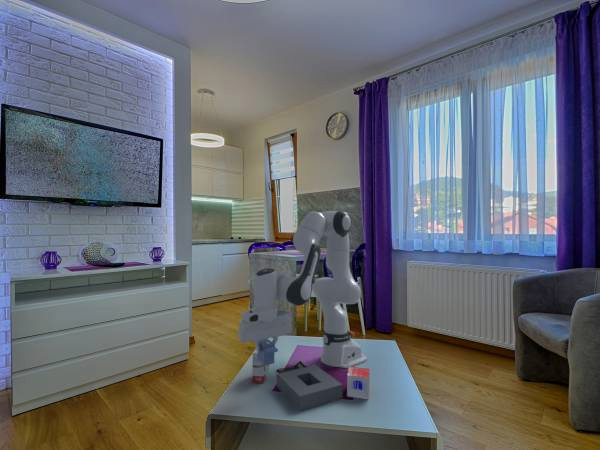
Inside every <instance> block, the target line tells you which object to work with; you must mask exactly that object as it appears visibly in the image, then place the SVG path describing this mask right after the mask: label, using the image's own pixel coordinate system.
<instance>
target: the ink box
mask: <svg viewBox="0 0 600 450" xmlns="http://www.w3.org/2000/svg"><path fill="white" fill-rule="evenodd" d="M251 369H252V373H251V374H252V375H251V376H252V379H251V382H252V383H258V384H263V383H264V382H265V381H266V380H267V378H268V377H269V375H270V365H265V366H264V365H263V364H262V363H261V362H260V361H259V360H258V359H257V351H256V349H255V350H253V352H252V368H251Z"/></svg>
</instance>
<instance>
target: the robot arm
mask: <svg viewBox="0 0 600 450" xmlns="http://www.w3.org/2000/svg"><path fill="white" fill-rule="evenodd" d="M351 227H352V218H351V215H349V213H348V212H346V211H343V210H337V211H336V210H326V211H321V212H318V211H310V212H308V213H307V214H306V215H305V217H303V219H302V220H301V222H300V224H299V225H298V227H297V229H296V231H295V232H294V235H293V238H292V243H293V245H294V248H295V249H296V250H297V251H298V253H300V254H302V255H303V256H304V261H303V263H302V266H301V270H300V273H299V274H298V276H295V277H293V276H288V275H284V274H281V273H280V272H278V271H276V269H274V268H263V269H260V270H259V271H257V272H256V273H255V277H254V282H253V295H254V296H253V297H254V302H253V306H252V308H250V309H248V310H246V311H243V312H241V314H240V316H241V319H242V320H240V322H239V325H238V326H239V327H238V337H237V338H238V339H239V341H240V342H241V343H243V344H244V343H250V342H251V343H252V342H253V343H254V345H255V350H256V351H257V352H260V351H262V350H261V349H262V347H261V346H260V345H258V343H259V340H262V339H271V338H272V341H271V342H272V343H273V344H274V347H276V343H277V342H278V340H279V339H278V338H279V337H283V336H287V335H290V334H291V333H292V323H291V318H292V317H291V314H292V313H291V312H290V311H289V310H288V309H283V310H278V307H279V306H278V301H282V302H286V303H290V304H293V305H295V306H297V307H299V306H303V305H305V304H306V303H307V302H308V301H309V300H310V298H311V296H312V291H313V293H314V295H315V297H316V298H317V300H318V301H319V303H320V305H321V309H322V313H323V325H324V326H323V328H324V329H323V331H322V332H323V334H322V340H323V346H322V351H321V357H320V362H321V363H322V364H324V365H326V366H329V367H334V368H335V367H336V368H343V369H349V366H350V367H355V366H357V365H359V364H361V363H364V362H366V361H367V356H366V355H365V354H363V352H362V347H361V346H360V344H359V343H358V342H356V341H355V340H353V339H352V338H351V337H355V332H353V331H351V330H350V331H349V330H348V314H347V312H346V311H345V310H344V309H343V308H342V306H341V304H342V305H355V304H357V303H358V302H359V300H361V299H360V298H361V296H362V290H361V287H360V285H359V284H358V283H357V282H356V280H355V279H354V277H353V274H352V272H351V268H350V237H349V232H350V231H351ZM323 235H324V236H327V239H326V240H327V241H326V253H325V266H326V267H327V269H329V270H330V272H331V274H332V276H333V277H327V276H324V277H319V278H318V277H317V278H316V280H315V276H316V273H317V270H318V269H317V268H318V266H319V262H320V258H321V248H320V245H319V244H320V241H321V240H322V239H321V238H322V237H323ZM314 280H315V281H314Z"/></svg>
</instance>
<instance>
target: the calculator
mask: <svg viewBox="0 0 600 450" xmlns="http://www.w3.org/2000/svg"><path fill="white" fill-rule="evenodd" d="M304 367H307V366H306V365H305V364H304V363H303V362H302V361H301V360H300V361H298V362H297V363H296V364H294V365H293V366H290V367H284V368H283V367H282V368H277V369H276V372H277V374H278V373H283V372H287V371H291V370H296V369H300V368H304Z"/></svg>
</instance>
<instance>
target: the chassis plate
mask: <svg viewBox="0 0 600 450" xmlns="http://www.w3.org/2000/svg"><path fill="white" fill-rule="evenodd" d="M276 388H277V389H279V390H280V392H281V393H282V394H283V395H284V396H285V397H286V398H287V399H288V400H289V402H290V403H291V404H292V406H294V407H295V408H296V409H297V410H298V411H299V412H301V411H304V410H307V409H311V408H315V407H318V406H320V405H324V404H327V403H331V402H334V401H337V400H341V399H343V384H342V383H341V382H340V381H338V379H335V378H334V377H333V376H331V374H329V373H327V372H326V371H325V370H324V369H322V368H321V367H319V366H318V365H316V364H312V365H309V366H306V367H304V368H300V369H296V370H291V371H287V372H283V373H278V372H277V373H276Z"/></svg>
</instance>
